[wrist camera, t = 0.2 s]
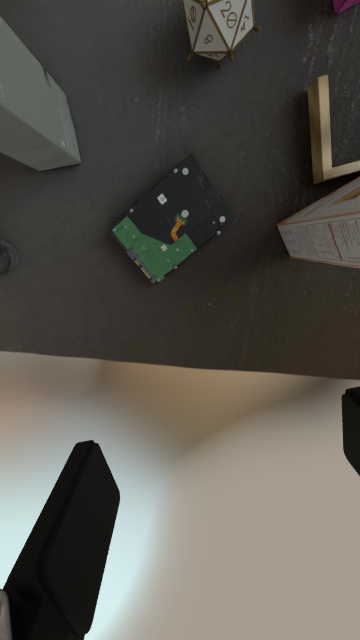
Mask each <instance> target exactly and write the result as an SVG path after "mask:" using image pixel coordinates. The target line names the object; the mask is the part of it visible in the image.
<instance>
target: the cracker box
mask: <svg viewBox="0 0 360 640" xmlns="http://www.w3.org/2000/svg"><path fill="white" fill-rule="evenodd" d="M277 227H278V229H279V232H280V234H281V237H282V239H283V241H284V244H285V246H286V248H287V251H288V253H289V255H290V257H291V258H296V259H303V260H309V261H316V262H322V263H329V264H335V265H342V266H348V267H354V268H360V176H359V177H357V178H355V179H354V180H352V181H350V182H348V183H347V184H345V185H343V186H342V187H340V188H338V189H336V190H335V191H333V192H331V193H330V194H328V195H326V196H324V197H323V198H321V199H319V200H318V201H316V202H314V203H312V204H311V205H309V206H307V207H305V208H304V209H302V210H300V211H299V212H297V213H295V214H293V215H292V216H290V217H288V218H287V219H285V220H283V221H281V222H280V223H278V224H277Z"/></svg>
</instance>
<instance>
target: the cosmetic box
mask: <svg viewBox="0 0 360 640" xmlns="http://www.w3.org/2000/svg"><path fill="white" fill-rule="evenodd" d="M0 152H1V153H3V154H5V155H7V156H9V157H11V158H13V159H15V160H17V161H19V162H21V163H23V164H25V165H27V166H29V167H31V168H34V169H36V170H38V171H42V170H47V169H53V168H58V167H63V166H69V165H74V164H79V163H81V159H80V154H79V149H78V144H77V139H76V134H75V130H74V126H73V122H72V118H71V114H70V110H69V106H68V102H67V99H66V95H65V93H64V92H63V91H62V89H61V88H60V87H59V86H58V85H57V83H56V82H55V81H54V80H53V79H52V77H51V76H50V75H49V74H48V73H47V71H46V70H45V69H44V68H43V67H42V66H41V64H40V63H39V62H38V61H37V60H36V58H35V57H34V56H33V55H32V54H31V52H30V51H29V50H28V49H27V48H26V46H25V45H24V44H23V43H22V42H21V40H20V39H19V38H18V37H17V36H16V35H15V33H14V32H13V31H12V30H11V29H10V27H9V26H8V25H7V24H6V23H5V21H4V20H3V19H2V18H1V17H0Z"/></svg>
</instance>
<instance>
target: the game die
mask: <svg viewBox="0 0 360 640" xmlns="http://www.w3.org/2000/svg"><path fill="white" fill-rule="evenodd" d="M182 3H183V8H184V13H185V19H186V24H187V29H188V35H189V40H190V46H191V52H190V53H189V55H188V59H187V61H189V60H191V59H192V58H193V54H196V55H199V56H203V57H206V58H209V59H213V60H216V61H219V63H218V67H219V68H220V70H221V68H222V67H223V64H222V60H223V59H224V58H225V57H227V56H228V55H229V59H230V60H231V61H233V57H234V55H233V52H232V51H233V50H234V49H235V48H236V47H237V46H238V45H239V43H240V42H241V41H242V40H243V39H244V38H245V37H246V36H247V35H248V34H249V33H250V32H251V30H252V29H254V30H255V31H257V32H258V31H260V30H261V28H260V25H258V24H255V21H254V7H253V0H182Z"/></svg>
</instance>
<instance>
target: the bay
mask: <svg viewBox="0 0 360 640" xmlns="http://www.w3.org/2000/svg"><path fill="white" fill-rule="evenodd" d="M308 106H309V121H310V137H311V153H312V168H313V184H317V183H321V182H325V181H329V180H332V179H336V178H340V177H344V176H347V175H351V174H355V173H359V172H360V161H356V162H352V163H348V164H345V165H341V166H337V167H334V168H332V160H331V136H330V112H329V88H328V75H324V76H321V77H318V78H317V79H316V80H315V81H314V83H313V84H312V85H311V86H310V87H309V88H308Z"/></svg>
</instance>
